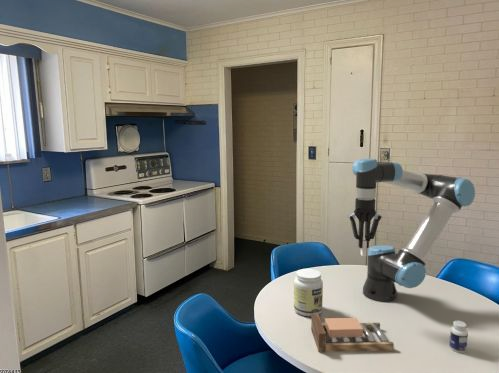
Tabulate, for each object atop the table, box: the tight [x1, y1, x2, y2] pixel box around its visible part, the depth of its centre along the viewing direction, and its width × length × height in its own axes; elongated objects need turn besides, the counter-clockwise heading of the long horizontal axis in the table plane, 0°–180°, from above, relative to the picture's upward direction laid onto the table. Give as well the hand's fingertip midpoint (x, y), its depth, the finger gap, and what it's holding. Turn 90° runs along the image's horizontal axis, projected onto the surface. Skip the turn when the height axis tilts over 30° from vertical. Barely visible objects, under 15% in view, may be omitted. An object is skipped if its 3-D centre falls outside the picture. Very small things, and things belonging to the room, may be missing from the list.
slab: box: [324, 317, 364, 339], centre depth 140 cm, size 12×8×3 cm, turn 91°
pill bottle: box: [448, 320, 469, 354], centre depth 133 cm, size 5×5×10 cm
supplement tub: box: [293, 268, 324, 317], centre depth 162 cm, size 12×12×17 cm
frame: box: [310, 313, 395, 353], centre depth 140 cm, size 26×14×7 cm, turn 91°
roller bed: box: [324, 322, 389, 343], centre depth 140 cm, size 11×20×2 cm, turn 91°
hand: (363, 255), depth 153 cm, fingers closed
